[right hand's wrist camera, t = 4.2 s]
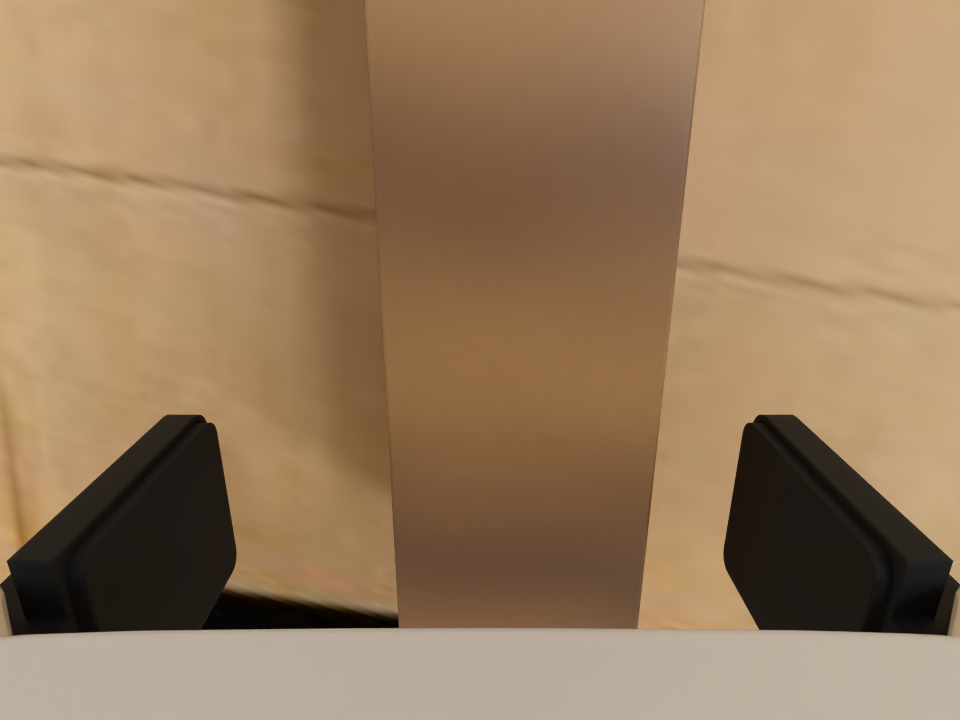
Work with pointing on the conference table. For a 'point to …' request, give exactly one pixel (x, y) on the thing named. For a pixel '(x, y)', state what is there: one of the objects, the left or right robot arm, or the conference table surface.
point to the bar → (527, 295)
